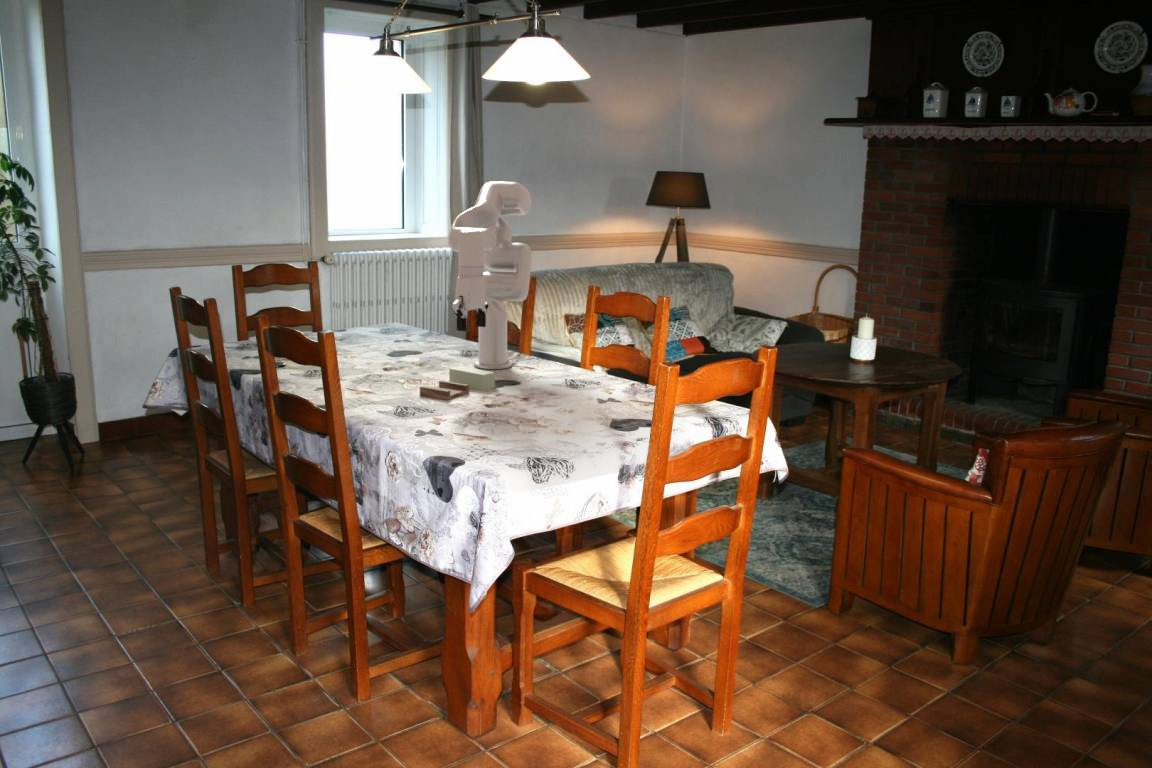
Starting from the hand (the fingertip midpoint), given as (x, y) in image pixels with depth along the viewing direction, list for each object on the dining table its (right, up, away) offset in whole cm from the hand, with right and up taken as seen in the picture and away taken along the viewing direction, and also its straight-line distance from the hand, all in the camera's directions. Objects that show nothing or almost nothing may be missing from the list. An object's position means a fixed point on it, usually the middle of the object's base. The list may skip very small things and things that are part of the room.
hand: (471, 328), depth 298 cm
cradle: (-7, -20, -7) cm, 22 cm away
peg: (0, -17, +4) cm, 18 cm away
